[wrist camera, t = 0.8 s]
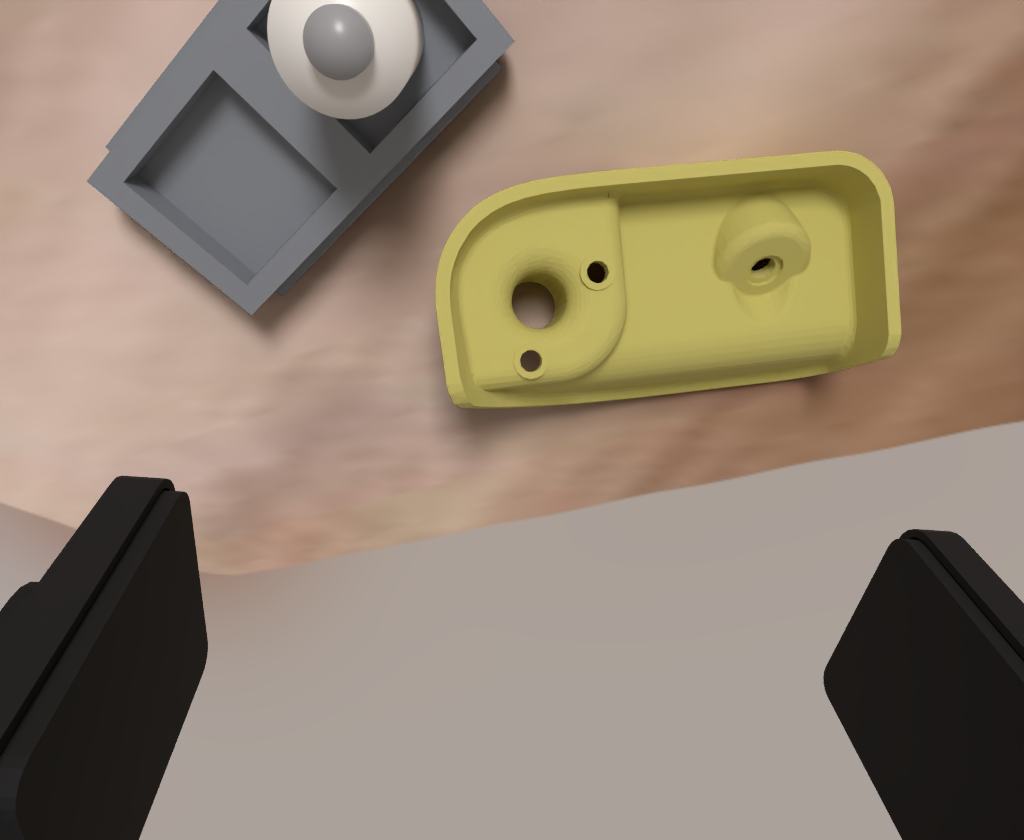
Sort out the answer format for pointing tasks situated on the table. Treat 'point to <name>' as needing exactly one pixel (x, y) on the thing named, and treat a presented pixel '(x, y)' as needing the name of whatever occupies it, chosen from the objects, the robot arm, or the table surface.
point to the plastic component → (672, 280)
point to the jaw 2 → (345, 52)
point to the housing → (278, 146)
